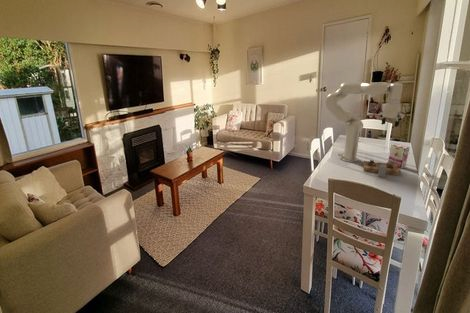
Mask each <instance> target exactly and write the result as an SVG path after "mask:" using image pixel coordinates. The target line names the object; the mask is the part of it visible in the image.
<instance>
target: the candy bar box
mask: <svg viewBox="0 0 470 313" xmlns="http://www.w3.org/2000/svg"><path fill="white" fill-rule="evenodd" d="M389 151H390V152H389V156H388V161H387V162H390V164H396V165H397V167H398V169H400V170H401V169H406V165H407V161H408V158H409V157H408V156H409V152H410V146H406V145H403V144H399V143H392V144H391V146H390V150H389Z"/></svg>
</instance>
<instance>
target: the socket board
mask: <svg viewBox="0 0 470 313" xmlns="http://www.w3.org/2000/svg"><path fill="white" fill-rule="evenodd" d="M380 164H381V165H386V166H387V168H386V174H385V175H392V176H399V174H400V170H399V168H398V167H397V165H396V164H390V162H388V161H386V162H377V161H375V160H373V159H370V160H368V161H365V160H363V163H362V168H363V172H368V173H375V174H378V170H379V165H380Z"/></svg>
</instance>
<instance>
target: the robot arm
mask: <svg viewBox="0 0 470 313" xmlns="http://www.w3.org/2000/svg"><path fill="white" fill-rule="evenodd" d="M403 85H404V84H403V83H399V82H398V83H397V82H394V83H391V82H383V83H366V82H362V81H360V82H359V81H358V82H352V81H346V82H343V83H341V84H340V86H339V89H337V90H336V91H335V92H331V93H329V94H328V95H327V96H326V99H325V103H324V104H325V107H326V108H327V110H328V111H329V112H330V113H331V115H333V116H334V117H335V118H336V120H337V121H338V122H339V123H340V124H341V125H347V126H346V128H345V141H344V142H345V143H344V151H343V153H340V152H338V154H337V156H338V157H341V160H342V161H343V162H349V163H356V162H358V161H359V158H358V157H357V156H358V155H357V154H358V148H359V140H360V131H362V130H363V128H364V123H363V121H362V120H361V119H360V118H359V117H358V116H357V115H356V114H355V113H354V111H351V110H345V109H344V108H343V107H342V106H341V105H340V104H338V102H341V101H342V100H344V99H345V98H347V96H349V95H367V96H368V95H369V96H370V95H371V96H372V95H373V96H382V95H385V94H388V97H387V98H386V99H385V100H386V103H385V104H384V108H383V111H380V112H379V115H380V119H381V125H385V124H386V120H387V118H389V119H395V122H394V127H396V128H397V127H399V125H400V122H401V121H402V120H403V118H405V115H404V114H403V113H402V112H401V109H402V108H401V107H402V106H401V97H402V93H403V87H404V86H403Z"/></svg>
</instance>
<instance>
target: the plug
mask: <svg viewBox="0 0 470 313" xmlns="http://www.w3.org/2000/svg"><path fill="white" fill-rule="evenodd" d="M386 168H387V166H386V165H381V164H380V165H379V170H378V173H377V177H378V178H384V179H385V178H386V175H387V174H386Z"/></svg>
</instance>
